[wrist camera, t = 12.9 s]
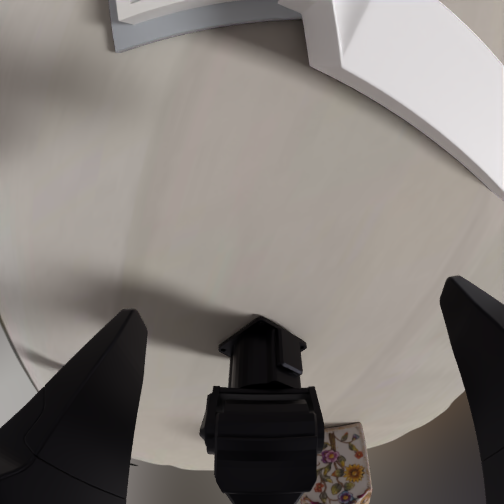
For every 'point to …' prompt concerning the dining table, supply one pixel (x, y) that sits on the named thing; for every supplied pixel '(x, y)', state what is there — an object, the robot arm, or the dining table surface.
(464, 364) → the robot arm
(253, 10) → the socket plate
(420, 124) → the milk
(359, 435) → the decorative jar
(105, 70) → the dining table surface
